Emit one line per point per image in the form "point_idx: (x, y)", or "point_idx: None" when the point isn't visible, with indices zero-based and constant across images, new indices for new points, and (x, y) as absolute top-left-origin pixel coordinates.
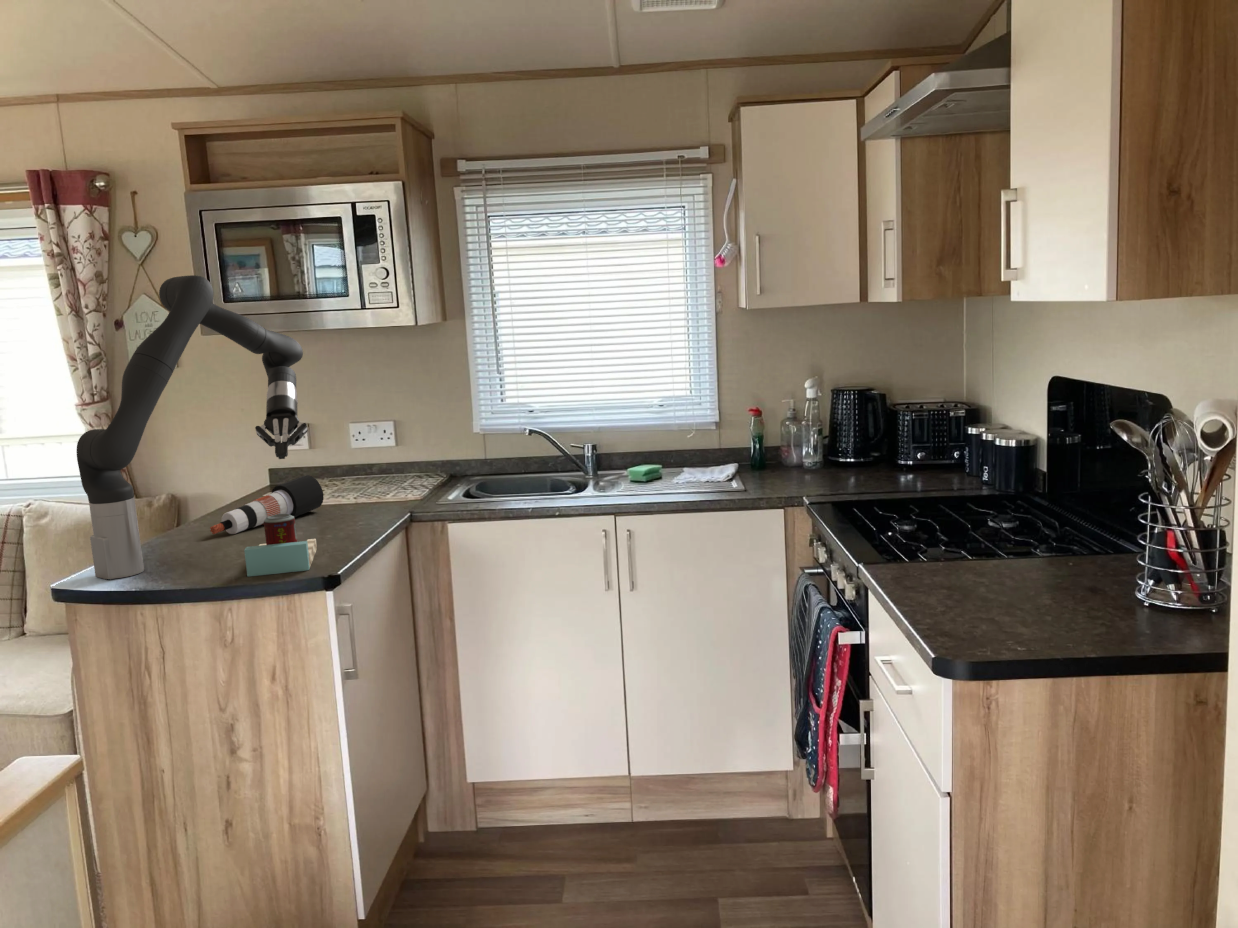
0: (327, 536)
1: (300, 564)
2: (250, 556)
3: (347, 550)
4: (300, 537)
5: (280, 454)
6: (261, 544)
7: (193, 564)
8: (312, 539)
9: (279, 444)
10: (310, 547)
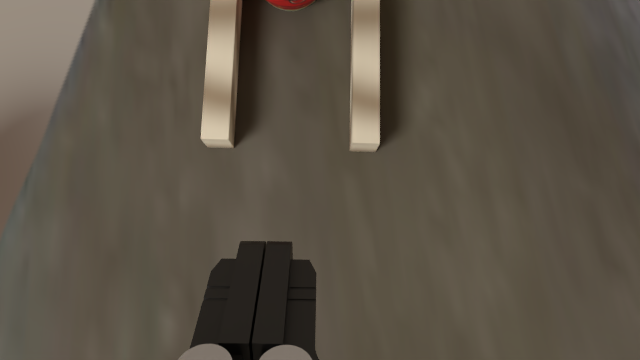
0: (174, 323)
1: None
2: None
3: (118, 81)
4: None
5: (269, 241)
6: (372, 136)
7: (557, 115)
8: (211, 131)
9: (267, 322)
10: (214, 20)
